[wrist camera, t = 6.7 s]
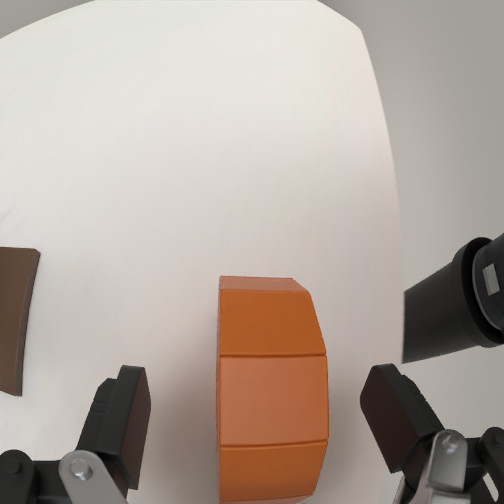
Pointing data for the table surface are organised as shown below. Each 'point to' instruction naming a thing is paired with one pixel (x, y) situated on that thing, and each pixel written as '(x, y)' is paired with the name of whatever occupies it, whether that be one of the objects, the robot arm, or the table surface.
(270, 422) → the tape roll
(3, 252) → the hook stand
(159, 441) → the table surface
